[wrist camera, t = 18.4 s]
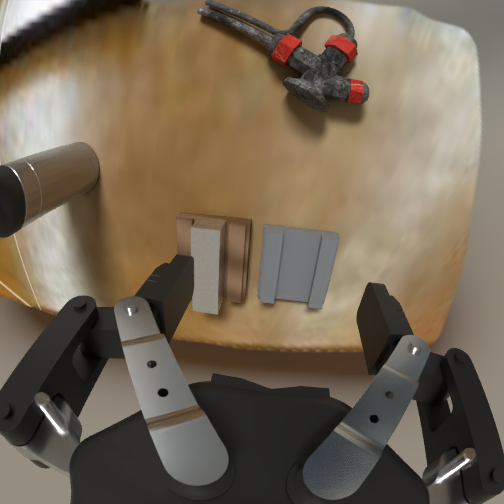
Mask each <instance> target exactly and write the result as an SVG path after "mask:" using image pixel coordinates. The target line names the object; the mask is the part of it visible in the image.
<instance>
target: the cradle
mask: <svg viewBox="0 0 504 504" xmlns="http://www.w3.org/2000/svg"><path fill="white" fill-rule="evenodd" d="M199 217H203V218H212V219H221V220H226V235H225V257H224V282H223V296H226V297H227V301H230V302H237V303H241V299H245V296H246V289H247V276H248V263H249V250H250V237H251V224H252V219H243V218H234V217H224V216H214V215H203V214H192V213H180V214H179V215H178V216H177V217H176V218H177V245H178V254H180V255H186V256H191V226H192V225H193V224H194V223H195V222H196V220H197V219H198V218H199Z"/></svg>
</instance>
